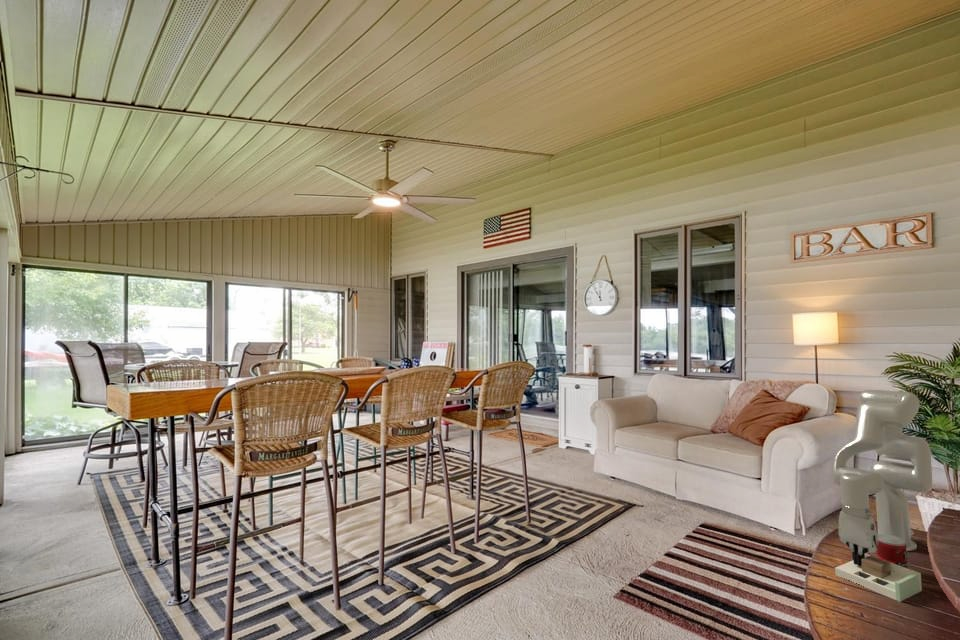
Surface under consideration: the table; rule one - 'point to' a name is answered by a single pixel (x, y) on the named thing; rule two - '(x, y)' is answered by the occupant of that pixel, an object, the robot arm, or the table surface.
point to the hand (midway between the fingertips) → (859, 564)
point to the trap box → (884, 580)
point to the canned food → (892, 550)
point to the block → (876, 567)
